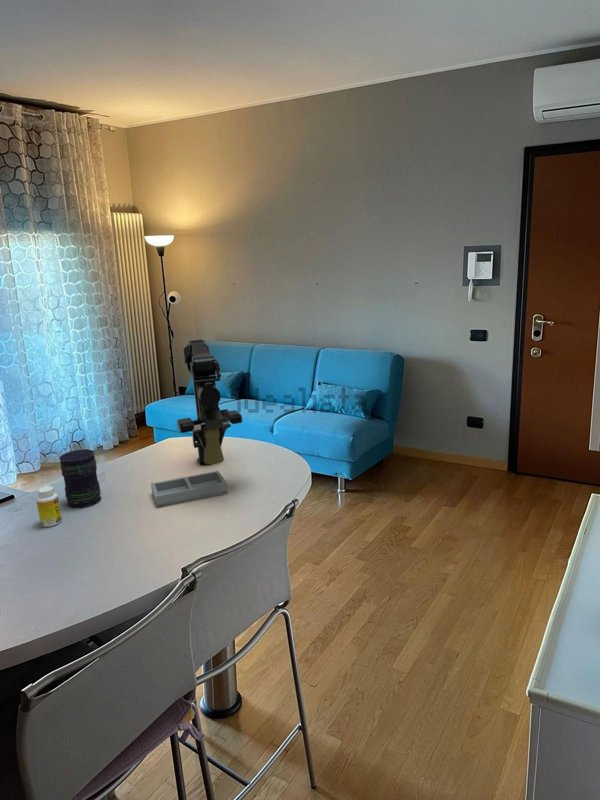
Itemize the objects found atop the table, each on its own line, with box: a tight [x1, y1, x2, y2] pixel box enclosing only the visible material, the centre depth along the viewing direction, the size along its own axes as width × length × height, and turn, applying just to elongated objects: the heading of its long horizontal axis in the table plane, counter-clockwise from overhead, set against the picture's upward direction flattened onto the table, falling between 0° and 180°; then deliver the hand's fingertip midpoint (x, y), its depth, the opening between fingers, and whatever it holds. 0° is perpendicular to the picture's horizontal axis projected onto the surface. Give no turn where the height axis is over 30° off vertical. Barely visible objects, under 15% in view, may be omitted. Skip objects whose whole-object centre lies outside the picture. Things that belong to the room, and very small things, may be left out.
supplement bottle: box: [35, 485, 63, 528], centre depth 161 cm, size 6×6×10 cm
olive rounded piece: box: [203, 426, 225, 465], centre depth 176 cm, size 6×6×11 cm
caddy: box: [150, 470, 229, 509], centre depth 176 cm, size 11×21×4 cm, turn 111°
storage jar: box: [59, 448, 102, 509], centre depth 174 cm, size 10×10×15 cm
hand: (212, 448), depth 176 cm, fingers closed on olive rounded piece, 4 cm apart
